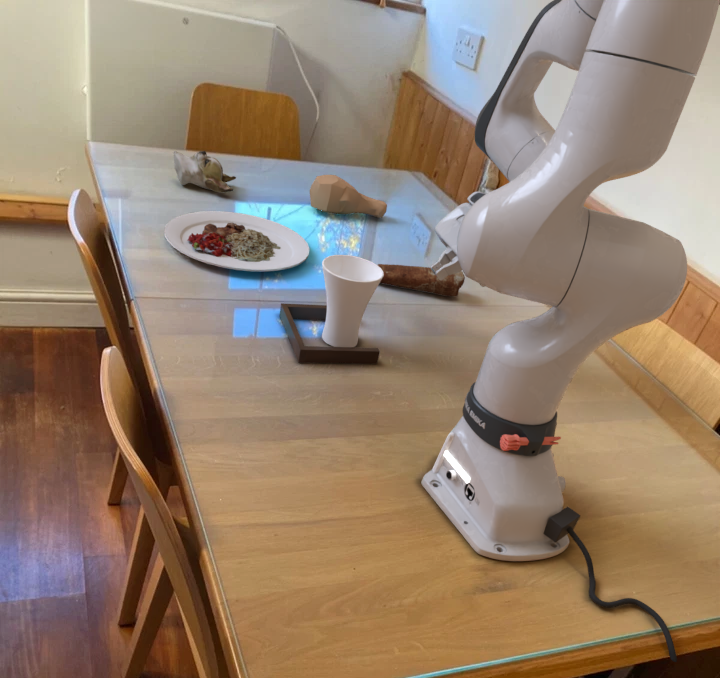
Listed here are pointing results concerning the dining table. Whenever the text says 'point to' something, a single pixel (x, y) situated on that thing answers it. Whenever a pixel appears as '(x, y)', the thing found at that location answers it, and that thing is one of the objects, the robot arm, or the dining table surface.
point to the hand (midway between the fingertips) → (434, 274)
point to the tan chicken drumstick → (342, 198)
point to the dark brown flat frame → (316, 352)
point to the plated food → (236, 241)
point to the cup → (347, 296)
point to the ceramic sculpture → (201, 171)
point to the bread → (421, 279)
